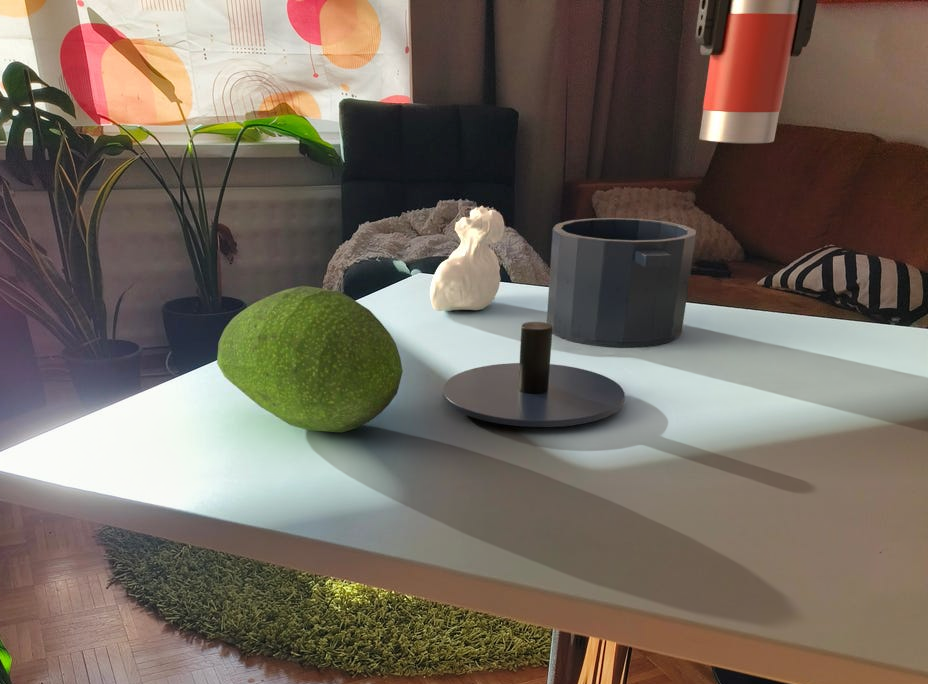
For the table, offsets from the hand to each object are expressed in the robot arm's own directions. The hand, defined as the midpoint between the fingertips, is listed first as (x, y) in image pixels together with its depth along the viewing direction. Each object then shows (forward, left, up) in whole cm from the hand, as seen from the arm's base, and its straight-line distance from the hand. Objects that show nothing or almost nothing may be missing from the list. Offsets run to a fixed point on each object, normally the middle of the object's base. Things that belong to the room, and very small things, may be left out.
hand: (750, 54), depth 66 cm
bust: (+16, -27, -24) cm, 39 cm away
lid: (+17, +5, -23) cm, 29 cm away
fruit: (+35, +7, -24) cm, 43 cm away
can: (0, 0, -6) cm, 6 cm away
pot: (+3, -16, -24) cm, 29 cm away
